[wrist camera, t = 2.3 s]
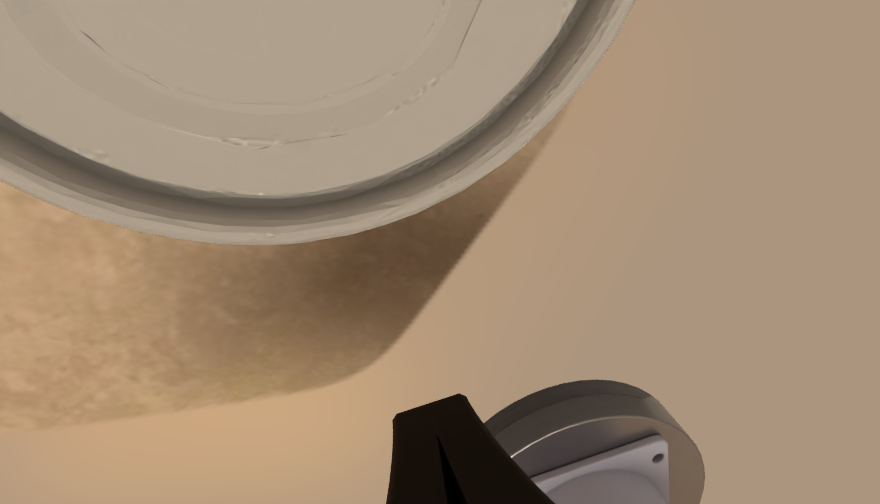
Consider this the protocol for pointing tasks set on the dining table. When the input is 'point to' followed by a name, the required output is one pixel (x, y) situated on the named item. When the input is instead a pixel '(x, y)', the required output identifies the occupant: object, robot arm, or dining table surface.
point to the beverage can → (280, 106)
